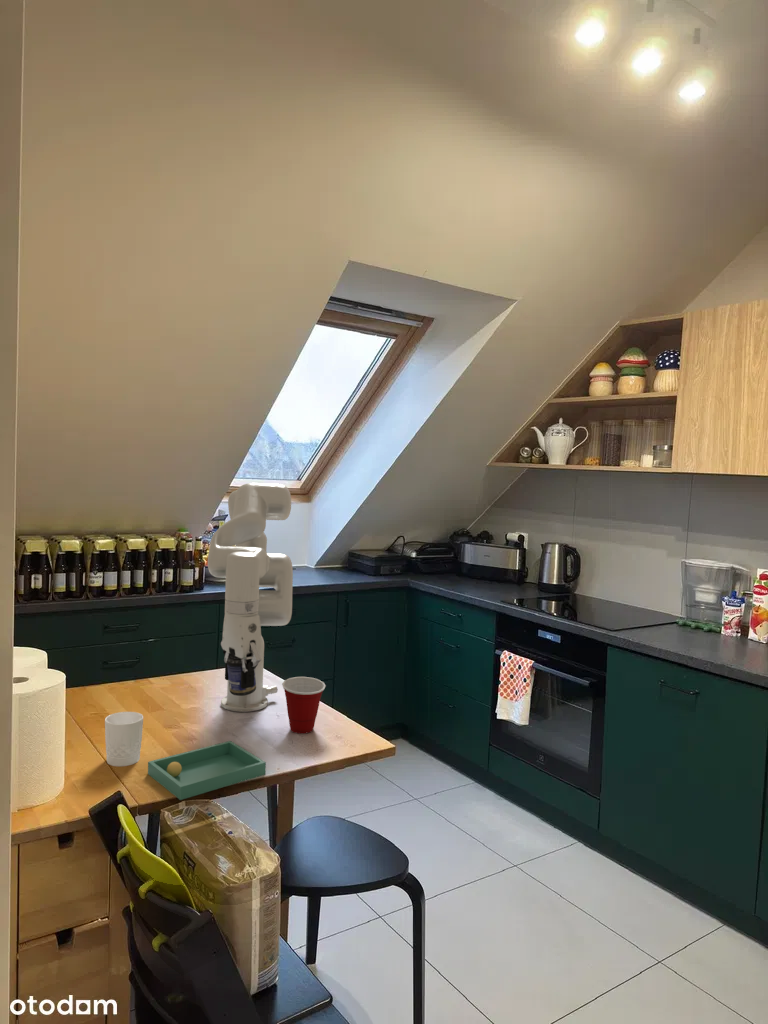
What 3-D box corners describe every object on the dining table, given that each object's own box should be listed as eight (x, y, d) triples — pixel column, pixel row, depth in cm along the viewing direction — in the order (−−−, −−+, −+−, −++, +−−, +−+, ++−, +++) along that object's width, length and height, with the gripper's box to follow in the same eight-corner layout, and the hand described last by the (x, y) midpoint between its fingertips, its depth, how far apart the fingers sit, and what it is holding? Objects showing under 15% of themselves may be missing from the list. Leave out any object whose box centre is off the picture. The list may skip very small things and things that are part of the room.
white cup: (110, 754, 163) (110, 711, 162) (146, 755, 164) (147, 711, 163) (99, 769, 155) (100, 724, 154) (137, 770, 156) (138, 724, 155)
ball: (177, 771, 155) (177, 758, 154) (184, 776, 152) (184, 763, 152) (164, 775, 153) (164, 761, 152) (170, 780, 150) (171, 766, 150)
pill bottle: (250, 697, 165) (246, 651, 163) (225, 696, 166) (221, 650, 164) (260, 685, 171) (256, 641, 169) (235, 684, 172) (232, 640, 170)
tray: (229, 754, 166) (230, 740, 166) (265, 776, 156) (265, 762, 155) (147, 776, 153) (148, 761, 153) (180, 802, 142) (180, 786, 142)
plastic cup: (289, 740, 176) (291, 692, 175) (274, 725, 186) (276, 679, 185) (330, 734, 181) (332, 687, 180) (314, 719, 191) (315, 674, 190)
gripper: (276, 612, 162) (273, 690, 164) (236, 597, 175) (234, 670, 177) (247, 616, 157) (245, 697, 159) (208, 600, 170) (206, 675, 172)
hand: (239, 682), depth 168 cm, fingers closed on pill bottle, 6 cm apart
